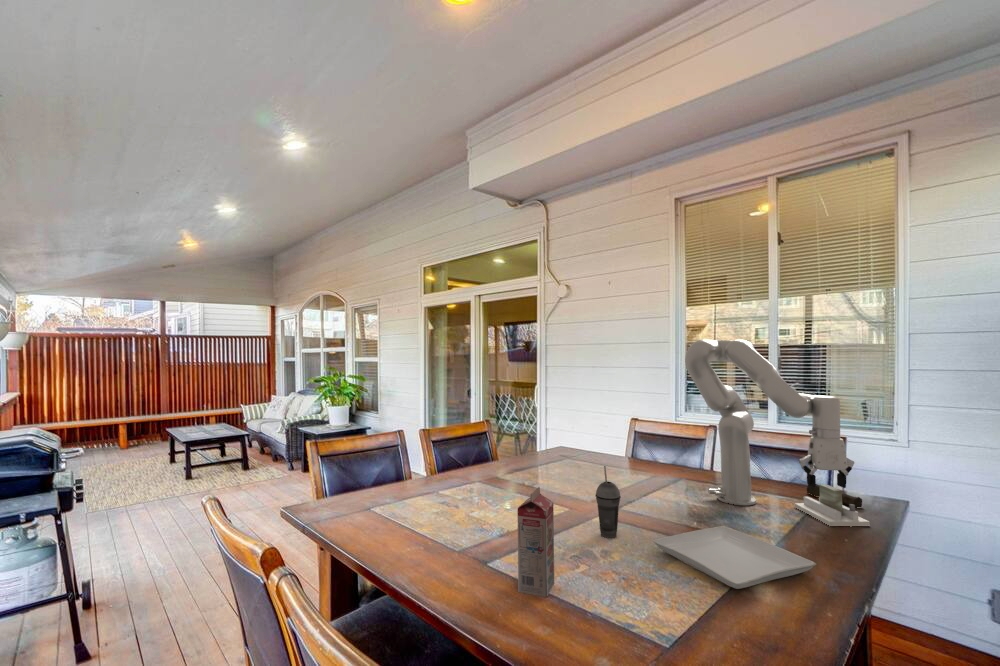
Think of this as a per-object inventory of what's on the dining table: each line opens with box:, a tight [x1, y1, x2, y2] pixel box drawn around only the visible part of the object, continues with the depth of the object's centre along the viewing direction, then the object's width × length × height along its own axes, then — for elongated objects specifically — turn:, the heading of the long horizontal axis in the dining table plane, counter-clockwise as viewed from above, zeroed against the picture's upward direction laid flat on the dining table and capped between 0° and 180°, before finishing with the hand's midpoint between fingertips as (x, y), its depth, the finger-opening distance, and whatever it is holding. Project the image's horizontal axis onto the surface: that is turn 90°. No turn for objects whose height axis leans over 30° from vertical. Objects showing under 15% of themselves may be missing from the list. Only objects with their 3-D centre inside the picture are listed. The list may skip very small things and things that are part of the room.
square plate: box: [652, 525, 817, 590], centre depth 121 cm, size 27×27×4 cm
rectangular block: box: [818, 484, 843, 516], centre depth 154 cm, size 2×7×8 cm, turn 0°
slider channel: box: [794, 496, 871, 528], centre depth 154 cm, size 12×18×6 cm, turn 179°
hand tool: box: [806, 483, 863, 508], centre depth 171 cm, size 19×4×5 cm, turn 17°
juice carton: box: [517, 486, 555, 598], centre depth 109 cm, size 7×7×22 cm
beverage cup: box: [595, 465, 622, 540], centre depth 140 cm, size 7×7×20 cm
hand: (826, 486), depth 155 cm, fingers open, 9 cm apart
